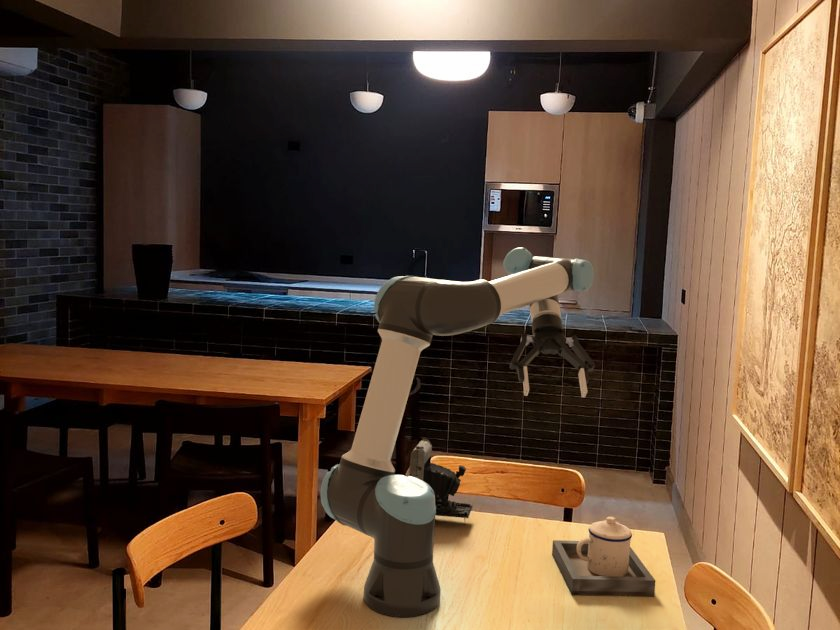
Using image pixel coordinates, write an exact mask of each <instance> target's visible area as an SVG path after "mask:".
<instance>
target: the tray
mask: <svg viewBox="0 0 840 630" xmlns="http://www.w3.org/2000/svg"><path fill="white" fill-rule="evenodd" d="M579 541H580V540H559V539H558V540H557V539H555V540H554V539H553V540H552V549H551V551H552V552H551V556H552V558H553V560H554V562H555V564H556V566H557V568H558V570H559V573H560V575H561V576H562V579H563V581H564V582H565V583H564V584H566V587H567V589H568V591H569V593H570V594H571V596H578V597H579V596H582V597H583V596H585V597H587V596H588V597H634V598H635V597H638V598H639V597H641V598H643V597H645V598H646V597H647V598H654V597H655V592H656V579H655V578H654V577H653V575H652V574H651V572H650V571H649V570H648V568H647V567H646V566H645V564H644V563H643V562H642V561H641V559H640V558H639V556H638V555H637V553H636V552H635V551H634V549H633V548H632V547H631V546H630V552H629V565H628V573H627V574H626V575H625V576H623V577H617V576H599V575H596V574H594V573H592V572H591V571H590V570H589V569H588V567H587V561H584V560H582V559H581V558H580V557H579V556H578V554H577V549H576V548H577V544H578V542H579ZM588 545H589V542H587V543H585V544H583V545H582V547H581V554H582V556H584V557H588Z"/></svg>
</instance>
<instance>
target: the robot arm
mask: <svg viewBox="0 0 840 630" xmlns="http://www.w3.org/2000/svg"><path fill="white" fill-rule="evenodd" d="M502 264H503V265H502V266H503V268H504V269H503V270H504V271H505V272H506V273H507V274H508V275H507V276H503V277H500V278H496V279H493V280H490V281H488V280H486V279H476V280H473V281H457V280H449V279H448V280H447V279H437V278H430V277H421V276H414V275H405V276H403V275H402V276H399V275H398V276H394V277H391V278H390V279H389V280H386V281H385V282H384V283H383V284H382V285H381V286H380V288H379V289H378V290H377V293H376V296H375V298H374V304H373V311H374V312H375V319H376V320H377V322H378V323H379V324H378V328H377V333H378V334H379V336H380V337H381V343H380V346H379V350H378V354H377V357H376V361H375V364H374V367H373V372H372V375H371V379H370V381H369V386H368V389H367V392H366V396H365V400H364V403H363V406H362V410H361V414H360V416H359V421H358V425H357V426H356V427H357V428H356V432H355V434H354V438H353V442H352V444H351V445H352V446H351V448H350V450H348V452H346V453H343V454H342V455H341V457H340V462H339V464H338V463H337V464H335V465H334V466H332V467H331V468H330V471H327V472H326V474H325V475H324V477H323V479H322V482H321V487H320V502H321V506H322V507H323V509H324V511H325V513H326V514H327V515H328V516H329V518H331V519H333V520H335V521H336V522H337V523H339V524H340V525H342V526H347V527H348V528H352V529H354V530H355V531H357V532H358V533H359V532H360V533H362V534H363V535H365V536H369V537H371V538H372V539H373V540H374V543H373V544H374V547H373V560H372V562H371V566H370V568H369V572H368V575H367V577H366V579H365V582H364V587H363V601H364V603H365V604H366V605H367V606H368V608H369V609H371V610H372V611H375V612H376V613H378V614H379V613H380V614H382V615H385V616H391V617H397V618H398V617H399V618H407V617H409V618H411V617H417V616H422V615H425V614H427V613H430V612H432V611H434V610H435V609H437V608H438V606H439V604H440V603H441V602H440V601H441V585H440V582H439V577H438V576H437V570H436V568H435V564H434V548H435V547H434V544H435V527H436V515H435V514H436V506H435V494H434V491H433V489H432V488H431V487H430V486H429V485H428V484H427V483H426V482H424V481H422V480H420V479H418V478H415V477H412V476H409V475H408V476H406V475H404V474H395V472H396V469H395V467H394V466H393V463H392V461H391V460H392V456H393V452H394V449H395V446H396V441H397V438H398V435H399V432H400V429H401V428H400V427H401V424H402V420H403V417H404V413H405V410H406V405H407V401H408V398H409V394H410V392H411V388H412V385H413V380H414V377H415V373H416V369H417V367H418V362H419V360H420V355H421V353H422V351H423V350H424V349H426V348H428V347H430V345H431V344H432V339H433V336H439V337H440V336H441V337H444V336H445V337H446V336H447V337H448V336H455V335H460V334H463V333H467V332H470V331H473V330H477V329H480V328H483V327H485V326H488V325H491V324H494V323H495V322H497V320H499V318H500V316H501V315H504V314H507V313H510V312H512V311H516V310H518V309H521V308H523V307H526V306H529V312H530V322H531V329H532V330H531V333H532V336H531V335H530V336H529V335H528V334H527V333H522V334H521V337H520V342H519V345H518V347H517V349H516V351H515V353H514V355H513V357H511V360H510V364H509V369H510V370H515V371H516V373H517V378H518V381H519V383H522V385H523V395H524V396H525V397H527V396H528V395H529V393H530V383H529V373H528V365H529V364H530V363H531V362H532V361H533V360H534V359H535V357H537V356H539V354H540V353H542V354H543V355H548V354H551V355H558V356H560V357H561V358H564V359H565V360H566V361H567V362H568V363H570V364H571V365H572V366H573V367H574V368H575V369H576V370H578V373H577V375H578V382H579V388H580V394H581V396H580V397H581V398H586V396H587V394H588V386H587V385H588V384H589V381H590V374H589V373H592V372H593V371H594V368H595V367H596V363H595V362H594V360H593V359H592V357H590V355H589V353H588V352H587V351H586V350H585V349H584V347H583V345H581V343H580V342H579V338H578V336H577V335H574V334H573V335H572V336H571V337H566V335H565V334H564V327H563V320H562V315H561V314H562V313H561V307H560V302H559V301H560V300H559V295H560V294H563V293H565V292H569V291H573V292H587V291H588V290H589V289H590V288H591V286H592V285H593V282H594V280H595V279H594V278H595V270H594V266H593V265H592V263H591V262H590V261H588V260H586V259H581V258H577V257H576V258H566V257H565V258H564V257H552V256H551V257H550V256H539V255H538V256H535V255H533V254H532V253H531V252H530V251H529V250H528V249H527V248H526V247H516V248H513V249H512V250H510V251H509V252H508V253H507V254H506V255H505V258H504V259H503V263H502ZM530 343H531V344H532V345H533V346H534V347H533V348H532V349H531V350H530V351H529V352H528V353H527V354H526V355H525V356H524V357H523V358H522V359H521V360H520V358H521V356H522V355H523V352H524V350H525V348H526V346H528V345H530ZM569 347H570V348H571V349H570V348H569ZM519 360H520V361H519Z"/></svg>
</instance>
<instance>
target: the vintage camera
mask: <svg viewBox="0 0 840 630" xmlns="http://www.w3.org/2000/svg"><path fill="white" fill-rule="evenodd" d="M432 451H433V445H432V443H431V441H429V439H428V438H427V439H426V438H422V440H420V441H419V442H418V444H417V445H416V446H415V447H414V448H413V450H412V452H411V453H410V460H409V471H408V473H409V474H408V476H412V477H415V478H418V479H420V480H422V481H424V482H426V483H427V484H428V485H429V486H430V487H431V488H432V489H433V491H434V494H435V506H436V514H435V516H437V517H447V518H448V517H450V518H460V519H461V518H463V520H464V521H466V519H469V518H470V514H471V512H472V509H473V507H474V506H473V504H472V505H471V503H467V502H466V503H465V502H464V503H463V502H456V501H455V500H454V501H451V500H449V495H450V496H451V497H454V496H455V495H456V494H457V492H458V490H459V488H460V485H461V481H462V480H461V479H460V477H463V476H465V473H466V471H467V470H466V469H467V468H466V467H465V466H464V465H459V467H458V470H457V471H452V470H451V469H450V468H448V467H444V466H442V465H439V464H436V463H433V462H432V461H431V460H432Z"/></svg>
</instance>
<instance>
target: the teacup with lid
mask: <svg viewBox="0 0 840 630" xmlns="http://www.w3.org/2000/svg"><path fill="white" fill-rule="evenodd" d="M588 527H589V528H588V529H587V530H588V533H589V535H588V537H584V538H581V539H579V540H578V541H579V542H578V544H577V548H576V549H577V554H578V556H579V557H580V558H581V559H582V560H584V561H587V567H588V569H589V570H590V571H591V572H592V573H594V574H596V575H599V576H617V577H623V576H625V575H626V574H627V573H628V565H629V552H630V547H631V540H632V537H633V534H632V531H631V529H630V528H629V527H627V526H626V525H624V524H621V523H620V522H618V521H617V520H616V517H614V516H607V517H606V518H605V519H604V520H602V521H601V520H600V521H595V522H593V523H591V524H590V525H589V526H588ZM587 542H589V545H588V557H584V556H582V554H581V547H582V545H583V544H585V543H587Z"/></svg>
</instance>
